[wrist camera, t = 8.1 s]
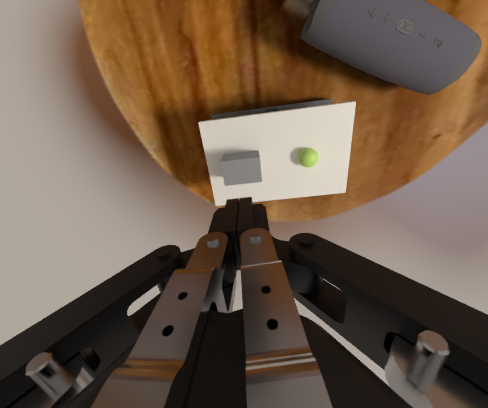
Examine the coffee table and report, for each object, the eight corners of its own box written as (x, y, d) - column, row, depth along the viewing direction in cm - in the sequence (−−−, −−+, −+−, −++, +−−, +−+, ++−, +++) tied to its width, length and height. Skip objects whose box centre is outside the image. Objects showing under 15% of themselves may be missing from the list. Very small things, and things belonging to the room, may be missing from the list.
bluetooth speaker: (441, 39, 35) (508, 18, 26) (405, 98, 39) (452, 97, 30) (319, -20, 32) (346, -68, 23) (293, 50, 36) (308, 33, 27)
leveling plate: (201, 120, 35) (192, 126, 29) (348, 100, 33) (369, 102, 27) (217, 199, 42) (212, 216, 36) (340, 186, 40) (355, 202, 34)
